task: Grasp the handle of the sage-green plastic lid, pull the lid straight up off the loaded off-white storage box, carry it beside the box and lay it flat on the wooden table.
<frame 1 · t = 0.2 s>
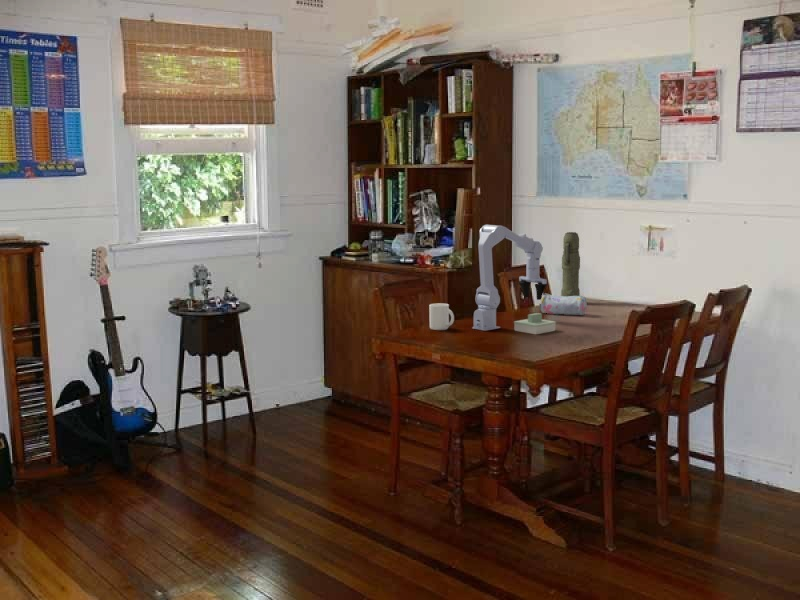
hand: (532, 298, 412), 10 cm above the table, fingers open, 7 cm apart
mug: (442, 329, 397), on the table
lid: (534, 323, 391), point 3 cm above the table, touching box
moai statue: (570, 303, 460), on the table
box: (534, 330, 391), on the table
pencil case: (563, 314, 430), on the table
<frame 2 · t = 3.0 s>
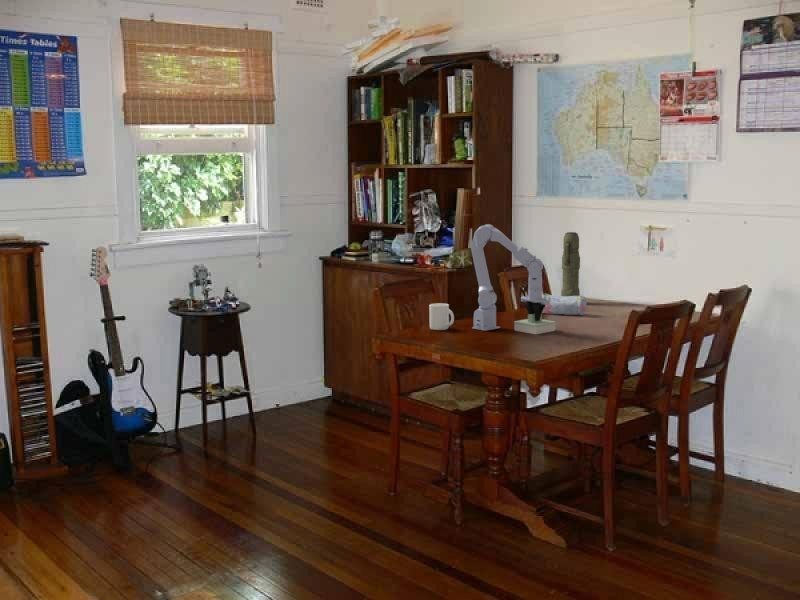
hand: (534, 320, 391), 4 cm above the table, fingers closed on lid, 2 cm apart
lid: (534, 323, 391), point 3 cm above the table, touching box, gripper
everything else where it was.
when the fingers open (4 cm above the table, at t = 7.7 s): lid stays where it is, point 1 cm above the table.
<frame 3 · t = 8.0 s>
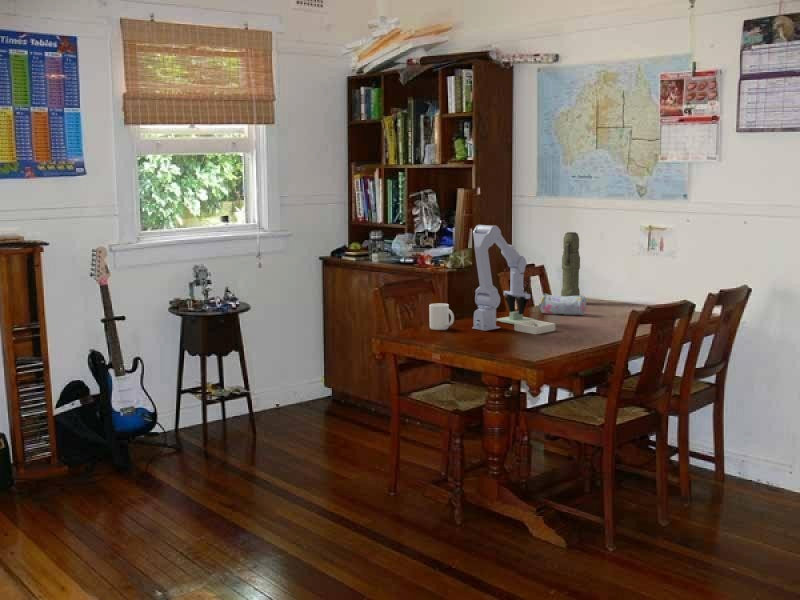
hand: (516, 313, 411), 4 cm above the table, fingers open, 5 cm apart
lid: (516, 320, 411), point 1 cm above the table
everything else where it was.
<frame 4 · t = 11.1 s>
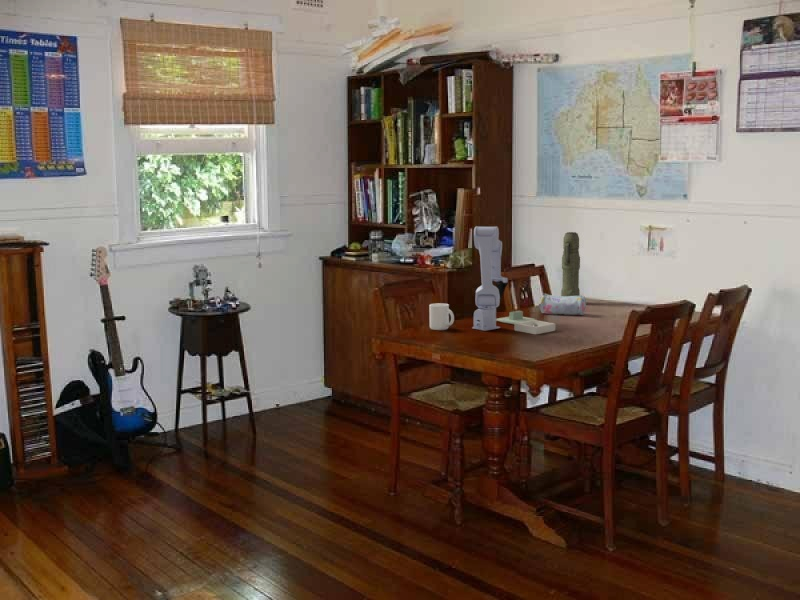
hand: (494, 297, 415), 10 cm above the table, fingers open, 7 cm apart
nothing on the table moved.
at the end: lid inside the target area (0.3 cm from its centre), point 0.6 cm above the table; lid tilted 0°; lid touching table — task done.
